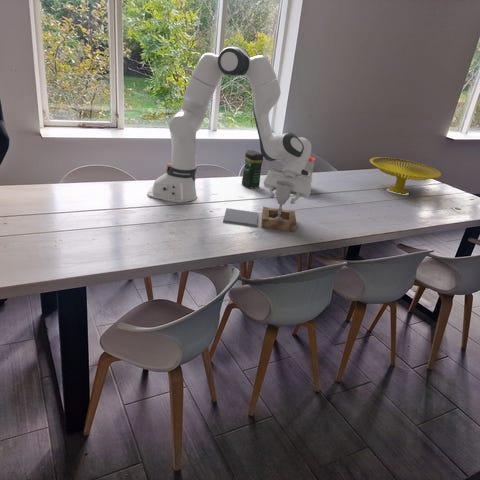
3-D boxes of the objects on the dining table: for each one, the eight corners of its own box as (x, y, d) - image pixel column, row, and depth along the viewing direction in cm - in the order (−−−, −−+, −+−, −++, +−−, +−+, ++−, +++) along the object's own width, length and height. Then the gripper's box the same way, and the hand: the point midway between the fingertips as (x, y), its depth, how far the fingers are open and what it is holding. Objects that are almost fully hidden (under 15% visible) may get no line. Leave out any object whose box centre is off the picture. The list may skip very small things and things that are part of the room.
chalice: (274, 227, 180) (281, 186, 172) (266, 220, 185) (272, 180, 177) (289, 225, 183) (296, 185, 175) (280, 219, 188) (287, 180, 181)
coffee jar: (261, 188, 225) (266, 153, 217) (249, 189, 221) (253, 154, 213) (251, 182, 232) (256, 148, 225) (239, 183, 228) (243, 149, 220)
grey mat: (223, 222, 178) (223, 220, 177) (226, 210, 191) (226, 208, 190) (256, 226, 178) (256, 224, 177) (257, 214, 190) (257, 212, 190)
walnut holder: (261, 227, 178) (262, 218, 176) (261, 215, 190) (263, 206, 189) (294, 232, 178) (296, 223, 176) (293, 219, 190) (294, 211, 189)
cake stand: (393, 178, 277) (400, 156, 270) (448, 200, 247) (457, 175, 240) (348, 182, 256) (354, 157, 250) (402, 206, 226) (410, 179, 220)
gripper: (268, 163, 184) (257, 190, 180) (314, 174, 177) (304, 202, 173) (270, 171, 190) (259, 198, 185) (315, 181, 183) (305, 209, 179)
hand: (281, 200), depth 179 cm, fingers open, 8 cm apart
